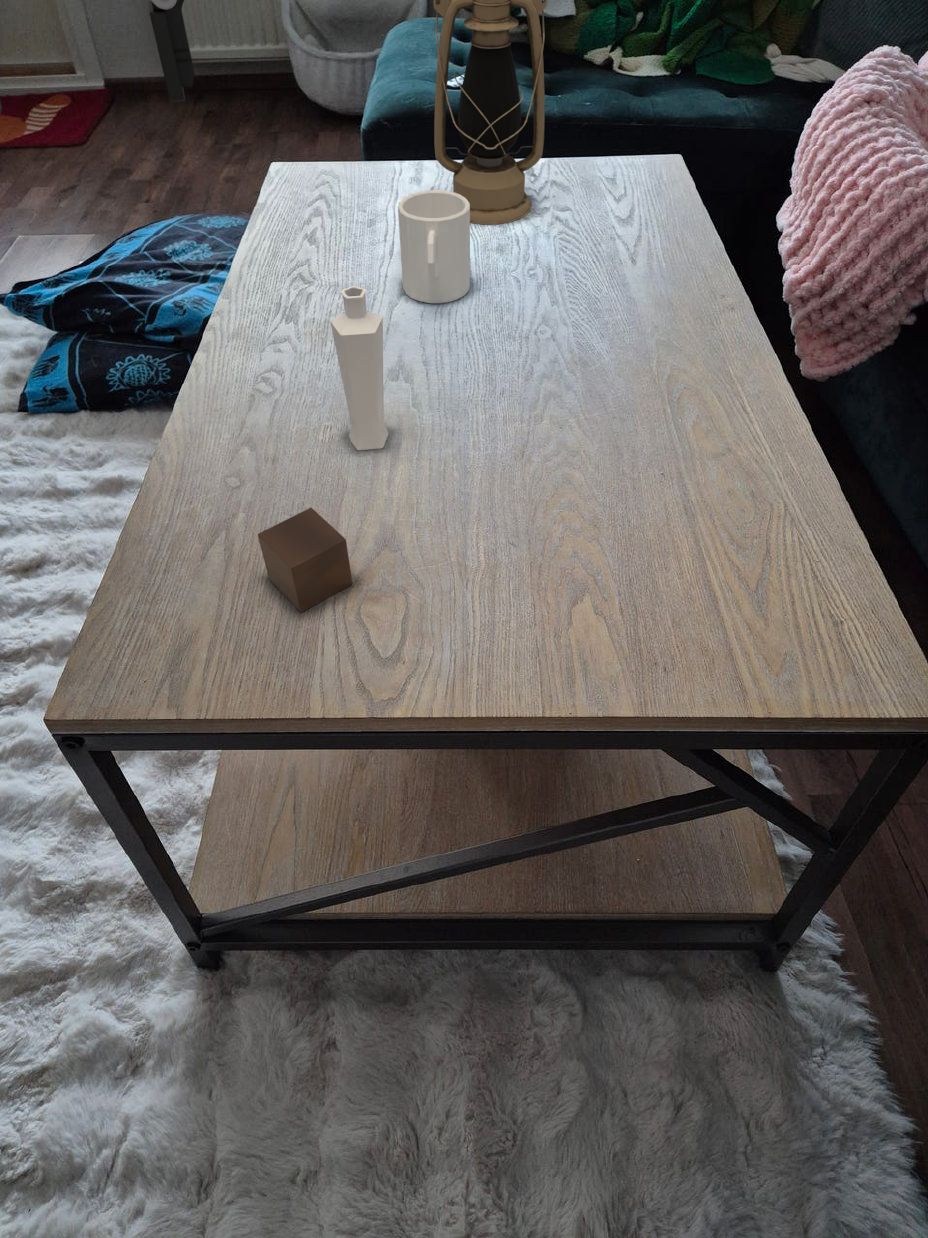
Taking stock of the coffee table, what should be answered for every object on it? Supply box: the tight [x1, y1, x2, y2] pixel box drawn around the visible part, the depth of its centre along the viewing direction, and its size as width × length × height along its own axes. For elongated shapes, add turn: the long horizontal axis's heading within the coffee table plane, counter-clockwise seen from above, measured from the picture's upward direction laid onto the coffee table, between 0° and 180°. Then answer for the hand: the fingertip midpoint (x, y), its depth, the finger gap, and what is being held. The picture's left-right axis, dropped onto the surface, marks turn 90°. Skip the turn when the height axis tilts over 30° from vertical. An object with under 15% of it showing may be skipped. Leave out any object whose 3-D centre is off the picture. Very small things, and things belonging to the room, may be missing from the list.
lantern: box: [433, 0, 548, 225], centre depth 108 cm, size 15×12×30 cm
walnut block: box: [257, 507, 353, 613], centre depth 68 cm, size 5×5×5 cm
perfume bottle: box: [329, 285, 390, 451], centre depth 77 cm, size 5×4×15 cm
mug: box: [397, 189, 471, 304], centre depth 98 cm, size 8×12×10 cm
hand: (86, 105), depth 41 cm, fingers open, 8 cm apart
